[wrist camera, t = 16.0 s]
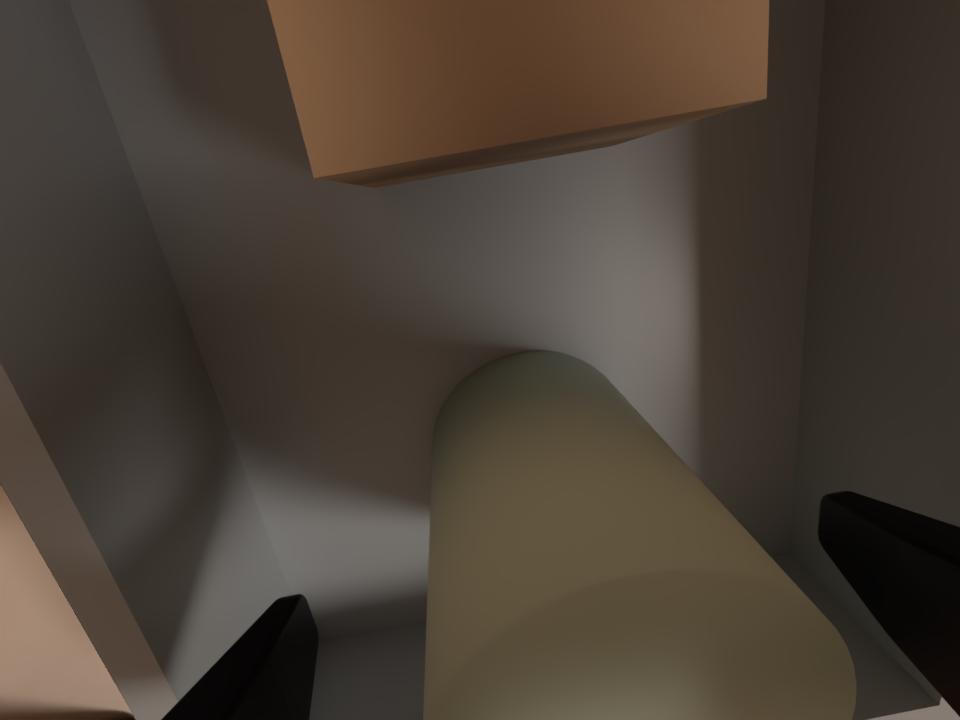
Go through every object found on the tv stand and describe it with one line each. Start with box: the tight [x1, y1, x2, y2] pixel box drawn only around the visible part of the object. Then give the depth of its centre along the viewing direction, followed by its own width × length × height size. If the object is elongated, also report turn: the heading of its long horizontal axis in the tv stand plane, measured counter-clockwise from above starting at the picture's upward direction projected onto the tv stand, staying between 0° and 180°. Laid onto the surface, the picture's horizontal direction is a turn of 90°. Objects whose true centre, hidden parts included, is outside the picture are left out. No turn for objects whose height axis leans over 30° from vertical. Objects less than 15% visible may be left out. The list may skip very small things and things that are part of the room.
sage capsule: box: [423, 351, 857, 720], centre depth 9 cm, size 5×5×7 cm
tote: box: [0, 0, 960, 720], centre depth 9 cm, size 16×20×5 cm
